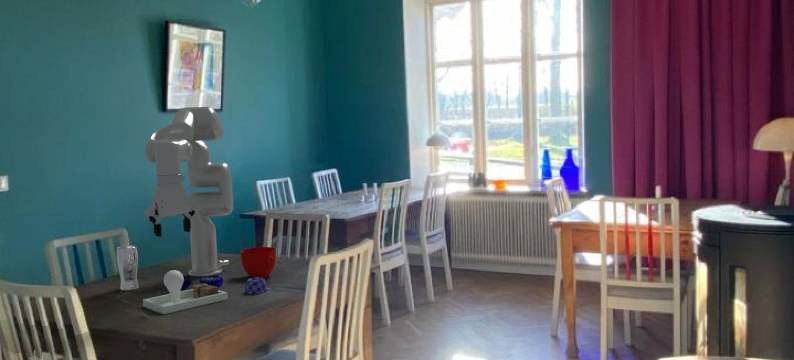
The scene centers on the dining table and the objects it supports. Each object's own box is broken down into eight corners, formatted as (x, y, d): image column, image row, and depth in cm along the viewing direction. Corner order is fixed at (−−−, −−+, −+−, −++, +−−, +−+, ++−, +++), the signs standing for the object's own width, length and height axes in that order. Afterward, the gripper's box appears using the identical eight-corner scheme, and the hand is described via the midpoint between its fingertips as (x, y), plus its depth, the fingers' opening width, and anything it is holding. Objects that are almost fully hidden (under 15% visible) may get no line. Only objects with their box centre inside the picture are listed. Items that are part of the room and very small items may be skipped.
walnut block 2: (210, 297, 234) (209, 285, 233) (218, 298, 231) (217, 286, 231) (200, 300, 231) (200, 288, 230) (208, 301, 228) (208, 289, 228)
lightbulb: (190, 301, 229) (186, 267, 227) (179, 307, 223) (175, 273, 221) (173, 300, 230) (169, 267, 229) (162, 307, 224) (158, 273, 223)
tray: (206, 294, 241) (205, 286, 240) (227, 301, 231) (227, 292, 230) (143, 308, 225) (142, 299, 225) (163, 316, 215) (163, 307, 215)
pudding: (240, 291, 246) (239, 276, 245) (275, 289, 247) (275, 274, 246) (236, 299, 234) (235, 284, 233) (273, 297, 235) (272, 282, 234)
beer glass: (132, 291, 250) (129, 249, 248) (115, 290, 251) (111, 248, 250) (143, 286, 257) (140, 245, 255) (126, 286, 258) (123, 245, 257)
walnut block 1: (205, 294, 237) (204, 283, 237) (209, 297, 234) (209, 285, 234) (193, 297, 235) (192, 285, 235) (198, 299, 232) (197, 287, 232)
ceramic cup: (258, 284, 254) (257, 256, 253) (235, 277, 266) (233, 250, 266) (289, 277, 262) (288, 250, 261) (265, 271, 275) (264, 245, 274)
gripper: (188, 177, 233) (192, 228, 234) (137, 182, 221) (141, 236, 222) (200, 178, 227) (203, 231, 229) (148, 183, 215) (152, 239, 217)
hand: (173, 233), depth 226 cm, fingers open, 9 cm apart
